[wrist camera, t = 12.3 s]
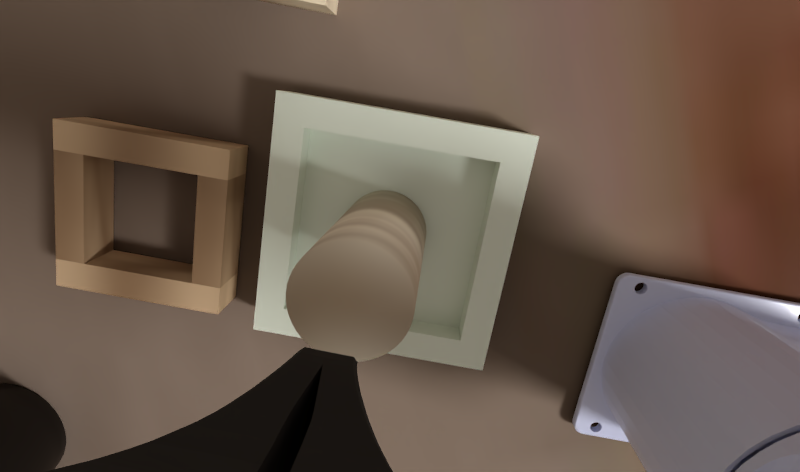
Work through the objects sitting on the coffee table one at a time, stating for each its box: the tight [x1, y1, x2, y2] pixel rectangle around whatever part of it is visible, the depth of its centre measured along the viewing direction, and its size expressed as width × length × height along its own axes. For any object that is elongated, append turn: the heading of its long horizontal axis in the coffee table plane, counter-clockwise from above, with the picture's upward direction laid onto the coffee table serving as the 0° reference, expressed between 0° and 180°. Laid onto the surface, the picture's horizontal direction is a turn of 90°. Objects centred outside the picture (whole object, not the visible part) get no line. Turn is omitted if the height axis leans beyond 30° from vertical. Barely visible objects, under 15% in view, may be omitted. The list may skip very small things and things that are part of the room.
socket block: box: [53, 117, 248, 314], centre depth 21 cm, size 7×7×2 cm
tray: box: [253, 90, 539, 371], centre depth 21 cm, size 10×10×2 cm
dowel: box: [286, 190, 426, 362], centre depth 17 cm, size 4×4×8 cm
